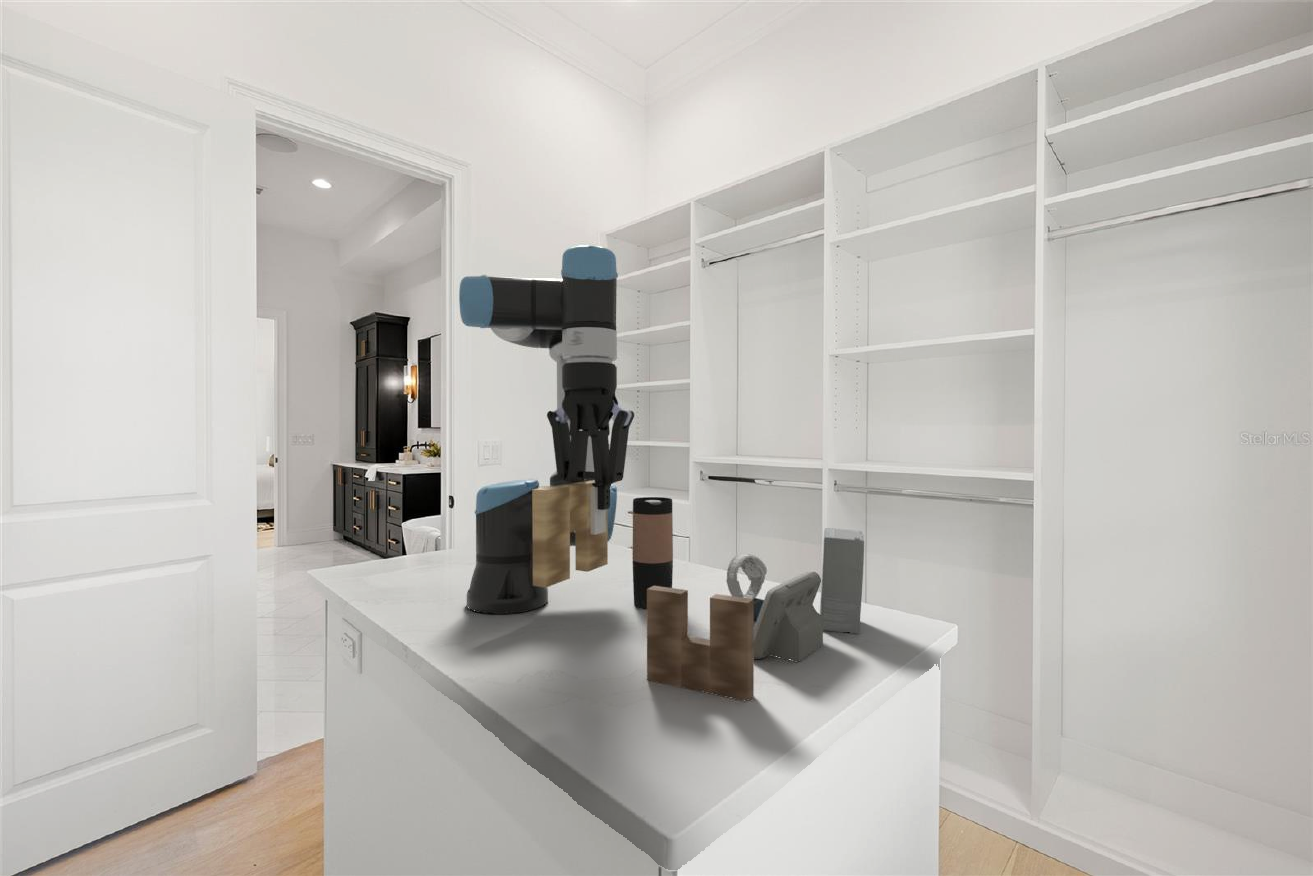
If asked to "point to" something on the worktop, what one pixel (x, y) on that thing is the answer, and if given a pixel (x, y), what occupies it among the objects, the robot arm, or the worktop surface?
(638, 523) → the travel mug
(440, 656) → the worktop surface
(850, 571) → the skincare box
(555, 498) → the notched board
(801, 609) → the digital clock
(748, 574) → the watch
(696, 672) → the notched stand
